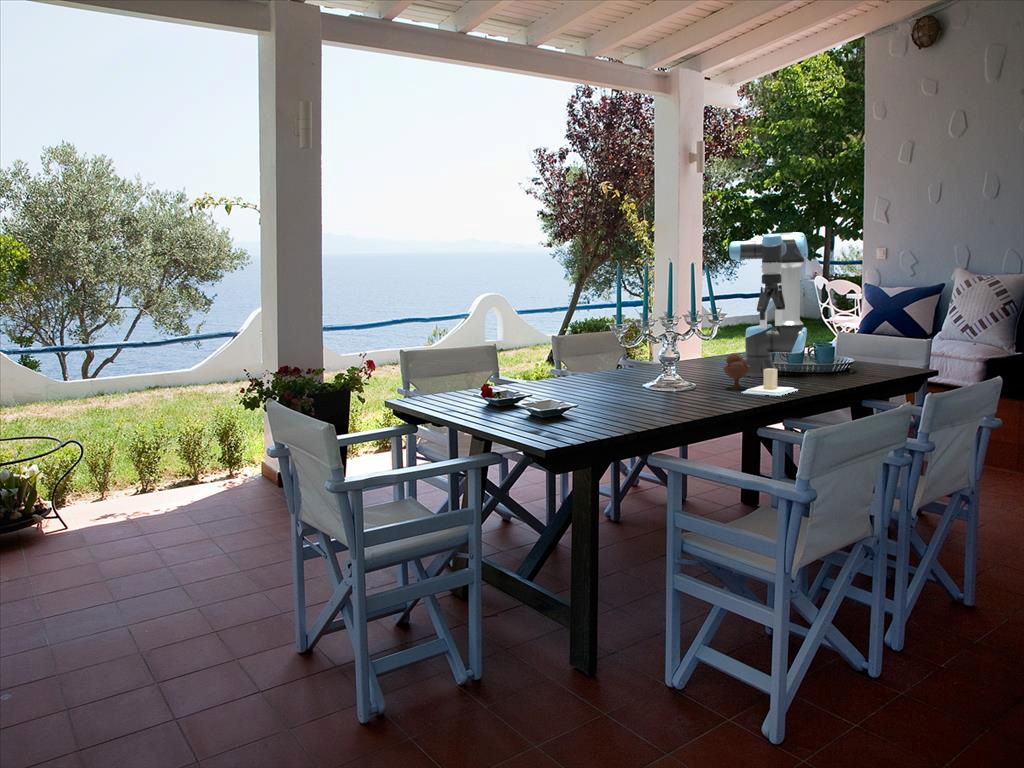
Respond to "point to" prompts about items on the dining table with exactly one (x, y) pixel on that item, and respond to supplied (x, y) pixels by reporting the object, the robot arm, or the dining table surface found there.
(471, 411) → the dining table surface
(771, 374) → the lid
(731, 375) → the ice cream bowl
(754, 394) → the mat
